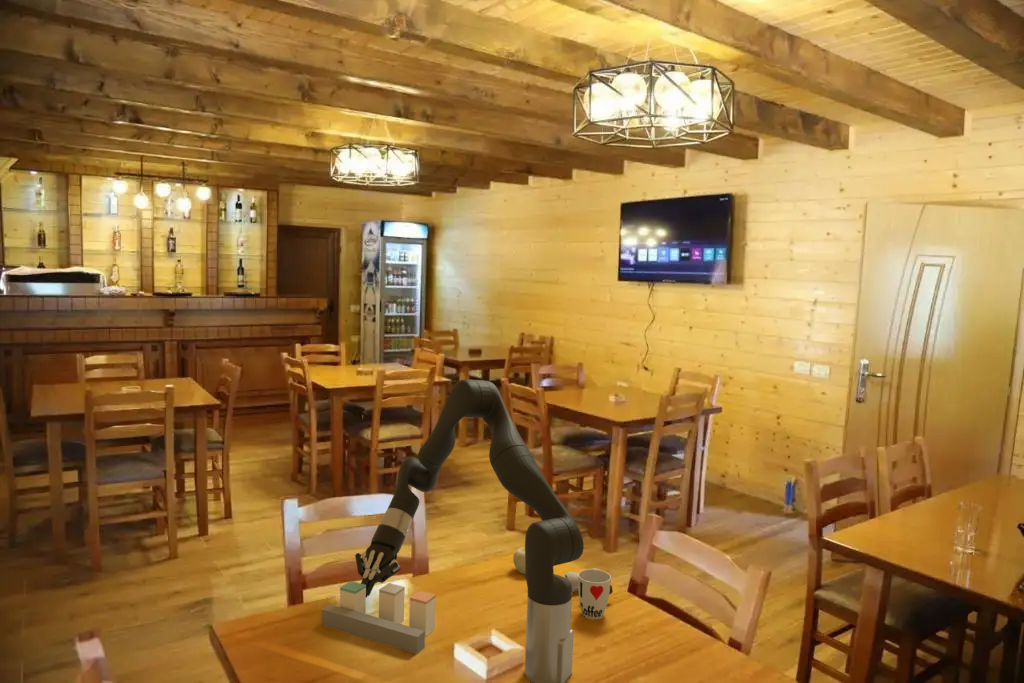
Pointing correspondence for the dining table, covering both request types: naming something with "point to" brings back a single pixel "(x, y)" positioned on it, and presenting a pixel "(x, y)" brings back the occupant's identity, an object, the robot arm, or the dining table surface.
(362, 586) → the beige and green block
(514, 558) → the fruit
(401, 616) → the beige tall block
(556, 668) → the robot arm
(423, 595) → the beige and orange block
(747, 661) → the dining table surface
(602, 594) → the cup
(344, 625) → the grey base
